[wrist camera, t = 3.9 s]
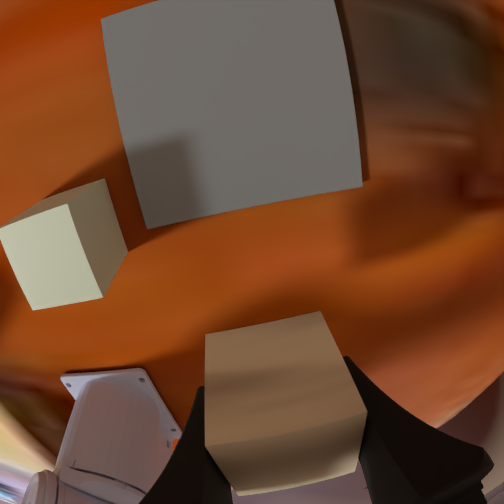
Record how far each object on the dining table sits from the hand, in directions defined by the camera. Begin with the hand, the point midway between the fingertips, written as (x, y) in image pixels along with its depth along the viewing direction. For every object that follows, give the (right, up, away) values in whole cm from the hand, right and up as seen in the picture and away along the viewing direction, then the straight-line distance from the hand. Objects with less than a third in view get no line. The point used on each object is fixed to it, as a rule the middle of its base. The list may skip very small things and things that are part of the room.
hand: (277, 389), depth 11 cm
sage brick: (-11, +7, +5) cm, 14 cm away
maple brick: (0, +1, +1) cm, 2 cm away
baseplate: (-2, +13, +3) cm, 14 cm away
